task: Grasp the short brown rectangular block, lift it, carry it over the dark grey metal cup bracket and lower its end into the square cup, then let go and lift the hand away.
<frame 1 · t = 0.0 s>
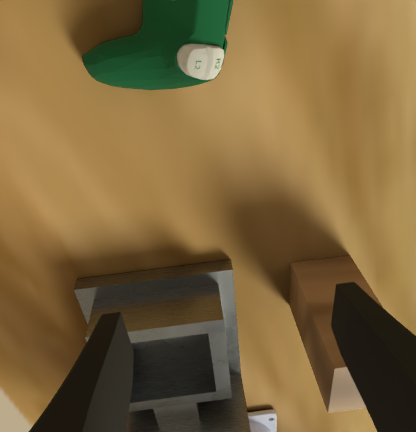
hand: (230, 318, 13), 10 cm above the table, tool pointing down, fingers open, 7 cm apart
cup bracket: (166, 321, 27), on the table
brown rectangular block: (318, 281, 26), on the table
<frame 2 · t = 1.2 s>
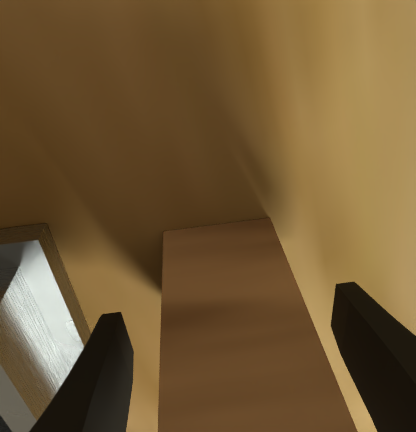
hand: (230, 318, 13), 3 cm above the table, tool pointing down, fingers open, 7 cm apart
brown rectangular block: (220, 265, 15), on the table
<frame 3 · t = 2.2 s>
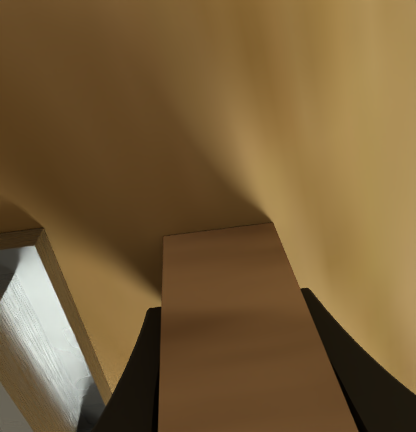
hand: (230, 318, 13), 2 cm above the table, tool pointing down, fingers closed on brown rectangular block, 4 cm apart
brown rectangular block: (222, 270, 15), on the table, touching gripper
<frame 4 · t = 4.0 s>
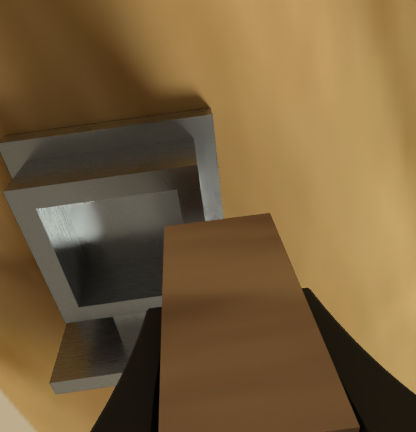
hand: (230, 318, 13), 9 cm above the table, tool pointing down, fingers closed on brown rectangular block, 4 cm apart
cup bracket: (130, 208, 21), on the table
brown rectangular block: (221, 260, 15), point 6 cm above the table, touching gripper
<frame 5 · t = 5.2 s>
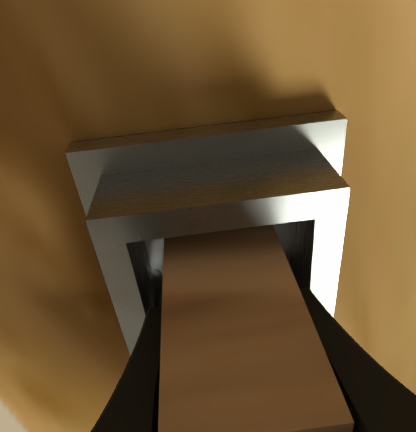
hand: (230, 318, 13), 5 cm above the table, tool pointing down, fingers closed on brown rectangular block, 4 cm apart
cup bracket: (216, 233, 17), on the table
brown rectangular block: (220, 260, 15), point 2 cm above the table, touching gripper
when the fingers open (5 cm above the table, at t = 6.0 s): brown rectangular block stays where it is, resting on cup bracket.
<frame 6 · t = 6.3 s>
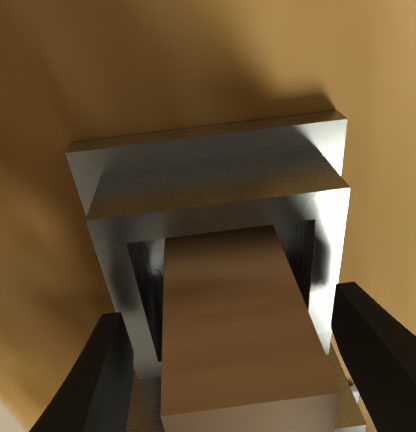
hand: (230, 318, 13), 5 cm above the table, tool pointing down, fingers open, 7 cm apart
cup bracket: (216, 233, 17), on the table
brown rectangular block: (218, 250, 16), point 1 cm above the table, touching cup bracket
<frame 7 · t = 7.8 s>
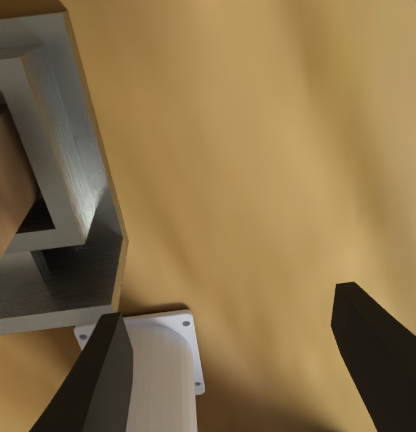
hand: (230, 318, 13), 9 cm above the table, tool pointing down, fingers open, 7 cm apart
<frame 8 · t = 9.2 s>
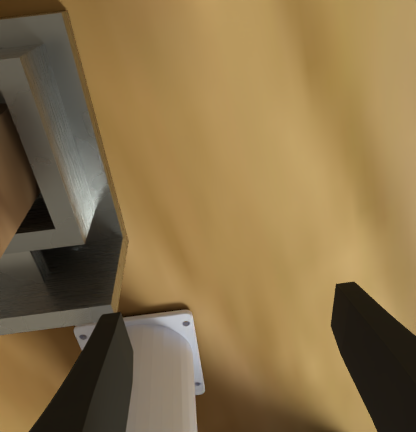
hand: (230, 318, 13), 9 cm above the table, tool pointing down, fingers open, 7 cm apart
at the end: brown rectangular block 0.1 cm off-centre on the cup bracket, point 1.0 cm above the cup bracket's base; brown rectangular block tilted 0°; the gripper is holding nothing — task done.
